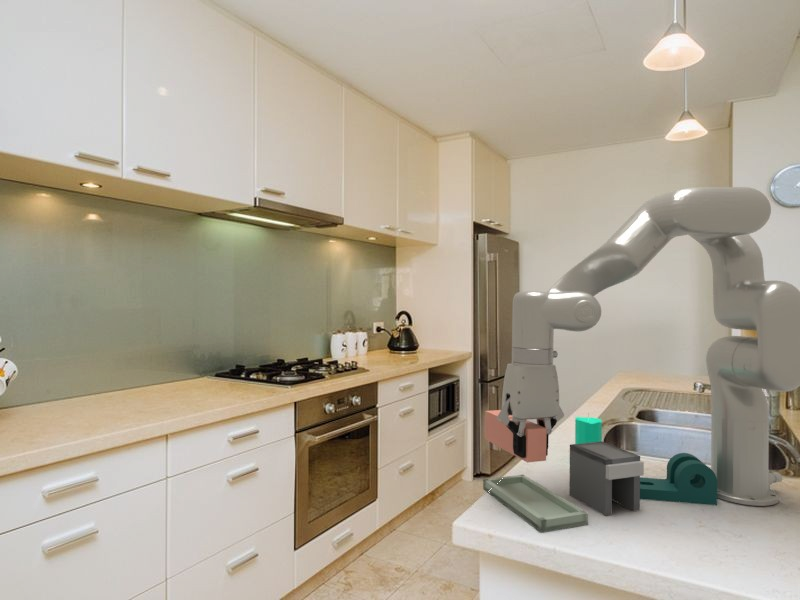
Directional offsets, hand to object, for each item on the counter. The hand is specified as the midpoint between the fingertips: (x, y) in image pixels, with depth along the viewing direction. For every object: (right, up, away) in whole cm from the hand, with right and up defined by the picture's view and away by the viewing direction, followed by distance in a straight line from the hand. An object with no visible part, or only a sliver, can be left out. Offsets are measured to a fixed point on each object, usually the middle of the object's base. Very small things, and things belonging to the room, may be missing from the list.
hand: (530, 453), depth 94 cm
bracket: (+27, -10, +6) cm, 30 cm away
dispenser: (+14, -10, +2) cm, 17 cm away
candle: (+20, -10, +25) cm, 34 cm away
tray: (0, -10, 0) cm, 10 cm away
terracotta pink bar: (-2, -1, +6) cm, 6 cm away
